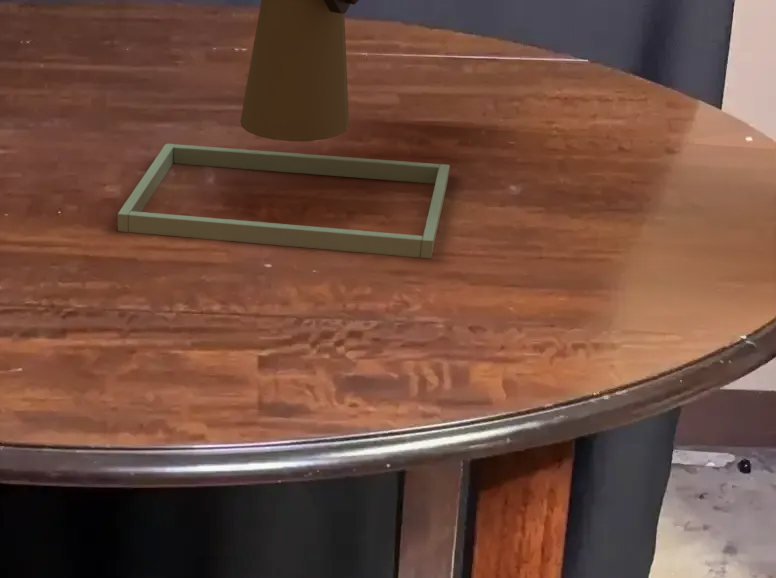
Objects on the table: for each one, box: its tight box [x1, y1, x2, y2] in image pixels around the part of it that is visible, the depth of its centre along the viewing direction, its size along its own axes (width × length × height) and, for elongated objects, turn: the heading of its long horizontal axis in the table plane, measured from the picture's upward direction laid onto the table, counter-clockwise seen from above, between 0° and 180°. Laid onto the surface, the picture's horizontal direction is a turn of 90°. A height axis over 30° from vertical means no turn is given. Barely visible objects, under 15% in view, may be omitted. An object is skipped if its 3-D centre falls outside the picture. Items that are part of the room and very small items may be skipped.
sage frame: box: [117, 143, 451, 259], centre depth 87 cm, size 17×12×2 cm
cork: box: [240, 0, 350, 142], centre depth 81 cm, size 6×6×11 cm
